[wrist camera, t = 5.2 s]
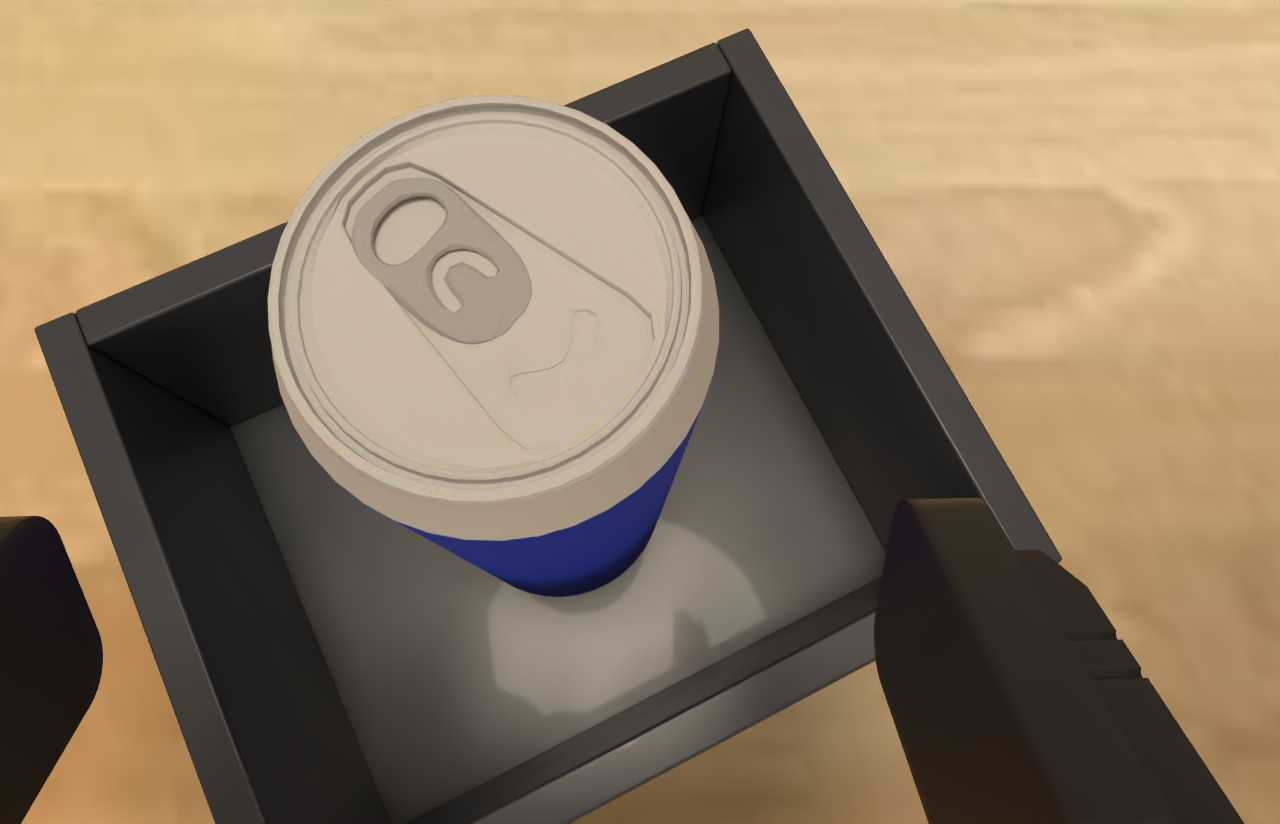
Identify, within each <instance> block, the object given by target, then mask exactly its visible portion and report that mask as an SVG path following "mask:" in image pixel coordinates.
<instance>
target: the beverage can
mask: <svg viewBox="0 0 1280 824" xmlns="http://www.w3.org/2000/svg"><path fill="white" fill-rule="evenodd" d="M268 322H269V335H270V339H271V345H272V354H273V362H274V367H275V372H276V376H277V381H278V385H279V390H280V394H281V396H282V399H283V401H284V404H285V406H286V409H287V411H288V414H289V416H290V419H291V421H292V424H293V426H294V427H295V429H296V431H297V432H298V434H299V435H300V437H301V439H302V440H303V442H304V443H305V445H306V447H307V448H308V450H309V451H310V453H311V455H312V456H313V457H314V458H315V459H316V460H317V461H318V463H319V464H320V465H321V466H322V467H323V468H324V469H325V470H326V472H327V473H328V474H329V475H330V476H331V477H332V478H333V479H334V481H335V482H337V483H338V484H339V485H341V486H342V487H343V488H344V489H346V490H347V491H348V492H349V493H351V494H352V495H353V496H354V497H356V498H357V499H358V500H359V501H361V502H362V503H363V504H365V505H367V506H368V507H370V508H372V509H374V510H376V511H377V512H379V513H381V514H383V515H385V516H386V517H388V518H390V519H392V520H394V521H395V522H397V523H399V524H401V525H403V526H404V527H406V528H408V529H410V530H412V531H413V532H415V533H417V534H419V535H421V536H423V537H424V538H426V539H428V540H430V541H432V542H433V543H435V544H437V545H439V546H441V547H442V548H444V549H446V550H448V551H450V552H451V553H453V554H455V555H457V556H459V557H460V558H462V559H464V560H466V561H468V562H470V563H471V564H473V565H475V566H477V567H479V568H480V569H482V570H484V571H486V572H488V573H489V574H491V575H493V576H495V577H497V578H498V579H500V580H502V581H504V582H506V583H508V584H509V585H511V586H513V587H515V588H517V589H520V590H523V591H525V592H528V593H531V594H537V595H542V596H551V597H565V596H573V595H580V594H583V593H586V592H589V591H593V590H596V589H598V588H600V587H602V586H604V585H606V584H608V583H610V582H611V581H613V580H614V579H616V578H617V577H619V576H620V575H621V574H623V573H624V572H625V571H626V570H627V569H628V568H629V567H630V566H631V565H632V564H633V563H634V562H635V561H636V560H637V559H638V557H639V556H640V555H641V553H642V552H643V551H644V549H645V547H646V545H647V544H648V542H649V540H650V538H651V536H652V534H653V531H654V529H655V526H656V524H657V521H658V519H659V516H660V514H661V511H662V508H663V506H664V503H665V501H666V498H667V496H668V493H669V491H670V488H671V485H672V483H673V480H674V478H675V475H676V473H677V470H678V468H679V465H680V462H681V460H682V457H683V455H684V452H685V450H686V447H687V445H688V442H689V439H690V437H691V434H692V432H693V429H694V427H695V424H696V422H697V419H698V417H699V414H700V411H701V409H702V406H703V403H704V400H705V398H706V395H707V392H708V389H709V386H710V383H711V380H712V377H713V374H714V368H715V362H716V356H717V351H718V345H719V304H718V298H717V292H716V286H715V280H714V275H713V272H712V269H711V266H710V263H709V260H708V257H707V254H706V251H705V248H704V245H703V243H702V242H701V240H700V238H699V236H698V234H697V232H696V230H695V228H694V226H693V225H692V223H691V221H690V219H689V217H688V215H687V214H686V212H685V210H684V208H683V207H682V205H681V203H680V201H679V199H678V197H677V195H676V193H675V191H674V189H673V188H672V187H671V185H670V184H669V183H668V181H667V180H666V179H665V177H664V176H663V175H662V173H661V172H660V171H659V169H658V168H657V167H656V165H655V164H654V163H653V162H652V161H651V160H650V159H649V158H648V157H647V156H646V155H645V154H644V153H643V152H642V151H641V150H640V149H638V148H637V147H636V146H635V145H634V144H633V143H632V142H631V141H629V140H628V139H626V138H625V137H624V136H622V135H621V134H619V133H618V132H617V131H615V130H614V129H612V128H611V127H609V126H608V125H606V124H604V123H602V122H600V121H598V120H596V119H594V118H592V117H590V116H588V115H586V114H584V113H582V112H580V111H578V110H575V109H571V108H568V107H565V106H562V105H559V104H556V103H553V102H550V101H545V100H539V99H533V98H527V97H521V96H505V95H481V96H472V97H463V98H454V99H450V100H446V101H442V102H438V103H434V104H430V105H426V106H422V107H419V108H417V109H415V110H412V111H410V112H407V113H405V114H402V115H400V116H397V117H395V118H392V119H390V120H389V121H387V122H385V123H383V124H382V125H380V126H378V127H377V128H375V129H373V130H371V131H370V132H368V133H366V134H365V135H363V136H362V137H360V138H359V139H358V140H357V141H355V142H354V143H353V144H351V145H350V146H349V147H348V148H346V149H345V150H344V151H343V152H341V153H340V154H339V155H337V156H336V158H335V159H334V160H333V161H332V162H331V163H330V164H329V165H328V166H327V167H326V168H325V169H324V170H323V171H322V172H321V173H320V174H319V175H318V177H317V178H316V179H315V180H314V181H313V183H312V184H311V185H310V187H309V188H308V190H307V191H306V193H305V194H304V195H303V197H302V198H301V200H300V201H299V203H298V204H297V205H296V207H295V209H294V211H293V213H292V215H291V217H290V219H289V221H288V223H287V225H286V227H285V229H284V232H283V234H282V236H281V239H280V242H279V245H278V249H277V252H276V255H275V258H274V262H273V265H272V270H271V277H270V285H269V293H268Z"/></svg>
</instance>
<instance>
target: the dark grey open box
mask: <svg viewBox="0 0 1280 824" xmlns="http://www.w3.org/2000/svg"><path fill="white" fill-rule="evenodd" d="M564 106H565V107H568V108H571V109H575V110H578V111H580V112H582V113H584V114H586V115H588V116H590V117H592V118H594V119H596V120H598V121H600V122H602V123H604V124H606V125H608V126H609V127H611V128H612V129H614V130H615V131H617V132H618V133H619V134H621V135H622V136H624V137H625V138H626V139H628V140H629V141H631V142H632V143H633V144H634V145H635V146H636V147H637V148H638V149H640V150H641V151H642V152H643V153H644V154H645V155H646V156H647V157H648V158H649V159H650V160H651V161H652V162H653V163H654V164H655V165H656V167H657V168H658V169H659V171H660V172H661V173H662V175H663V176H664V177H665V179H666V180H667V181H668V183H669V184H670V185H671V187H672V188H673V189H674V191H675V193H676V195H677V197H678V199H679V201H680V203H681V205H682V207H683V208H684V210H685V212H686V214H687V215H688V217H689V219H690V221H691V223H692V225H693V226H694V228H695V230H696V232H697V234H698V236H699V238H700V240H701V242H702V243H703V245H704V248H705V251H706V254H707V257H708V260H709V263H710V266H711V269H712V272H713V275H714V280H715V286H716V292H717V298H718V304H719V345H718V351H717V356H716V362H715V368H714V374H713V377H712V380H711V383H710V386H709V389H708V392H707V395H706V398H705V400H704V403H703V406H702V409H701V411H700V414H699V417H698V419H697V422H696V424H695V427H694V429H693V432H692V434H691V437H690V439H689V442H688V445H687V447H686V450H685V452H684V455H683V457H682V460H681V462H680V465H679V468H678V470H677V473H676V475H675V478H674V480H673V483H672V485H671V488H670V491H669V493H668V496H667V498H666V501H665V503H664V506H663V508H662V511H661V514H660V516H659V519H658V521H657V524H656V526H655V529H654V531H653V534H652V536H651V538H650V540H649V542H648V544H647V545H646V547H645V549H644V551H643V552H642V553H641V555H640V556H639V557H638V559H637V560H636V561H635V562H634V563H633V564H632V565H631V566H630V567H629V568H628V569H627V570H626V571H625V572H624V573H623V574H621V575H620V576H619V577H617V578H616V579H614V580H613V581H611V582H610V583H608V584H606V585H604V586H602V587H600V588H598V589H596V590H593V591H589V592H586V593H583V594H580V595H573V596H565V597H551V596H542V595H537V594H531V593H528V592H525V591H523V590H520V589H517V588H515V587H513V586H511V585H509V584H508V583H506V582H504V581H502V580H500V579H498V578H497V577H495V576H493V575H491V574H489V573H488V572H486V571H484V570H482V569H480V568H479V567H477V566H475V565H473V564H471V563H470V562H468V561H466V560H464V559H462V558H460V557H459V556H457V555H455V554H453V553H451V552H450V551H448V550H446V549H444V548H442V547H441V546H439V545H437V544H435V543H433V542H432V541H430V540H428V539H426V538H424V537H423V536H421V535H419V534H417V533H415V532H413V531H412V530H410V529H408V528H406V527H404V526H403V525H401V524H399V523H397V522H395V521H394V520H392V519H390V518H388V517H386V516H385V515H383V514H381V513H379V512H377V511H376V510H374V509H372V508H370V507H368V506H367V505H365V504H363V503H362V502H361V501H359V500H358V499H357V498H356V497H354V496H353V495H352V494H351V493H349V492H348V491H347V490H346V489H344V488H343V487H342V486H341V485H339V484H338V483H337V482H335V481H334V479H333V478H332V477H331V476H330V475H329V474H328V473H327V472H326V470H325V469H324V468H323V467H322V466H321V465H320V464H319V463H318V461H317V460H316V459H315V458H314V457H313V456H312V455H311V453H310V451H309V450H308V448H307V447H306V445H305V443H304V442H303V440H302V439H301V437H300V435H299V434H298V432H297V431H296V429H295V427H294V426H293V424H292V421H291V419H290V416H289V414H288V411H287V409H286V406H285V404H284V401H283V399H282V396H281V394H280V390H279V385H278V381H277V376H276V372H275V367H274V362H273V354H272V345H271V339H270V335H269V322H268V293H269V285H270V277H271V270H272V265H273V262H274V258H275V255H276V252H277V249H278V245H279V242H280V239H281V236H282V234H283V232H284V229H285V227H286V225H287V223H288V222H286V223H283V224H281V225H279V226H276V227H274V228H272V229H269V230H267V231H264V232H262V233H260V234H257V235H255V236H253V237H250V238H248V239H245V240H243V241H241V242H238V243H236V244H233V245H231V246H229V247H226V248H224V249H222V250H219V251H217V252H214V253H212V254H210V255H207V256H205V257H203V258H200V259H198V260H195V261H193V262H191V263H188V264H186V265H183V266H181V267H179V268H176V269H174V270H172V271H169V272H167V273H164V274H162V275H160V276H157V277H155V278H153V279H150V280H148V281H145V282H143V283H141V284H138V285H136V286H133V287H131V288H129V289H126V290H124V291H122V292H119V293H117V294H114V295H112V296H110V297H107V298H105V299H103V300H100V301H98V302H95V303H93V304H91V305H88V306H86V307H83V308H81V309H79V310H77V311H76V314H75V313H69V314H66V315H64V316H61V317H59V318H57V319H54V320H52V321H49V322H47V323H45V324H42V325H40V326H38V327H36V328H35V333H36V336H37V338H38V341H39V344H40V346H41V349H42V352H43V355H44V357H45V360H46V363H47V366H48V368H49V371H50V374H51V376H52V379H53V382H54V385H55V387H56V390H57V393H58V396H59V398H60V401H61V404H62V406H63V409H64V412H65V415H66V417H67V420H68V423H69V426H70V428H71V431H72V434H73V436H74V439H75V442H76V445H77V447H78V450H79V453H80V456H81V458H82V461H83V464H84V467H85V469H86V472H87V475H88V477H89V480H90V483H91V486H92V488H93V491H94V494H95V497H96V499H97V502H98V505H99V507H100V510H101V513H102V516H103V518H104V521H105V524H106V527H107V529H108V532H109V535H110V537H111V540H112V543H113V546H114V548H115V551H116V554H117V557H118V559H119V562H120V565H121V567H122V570H123V573H124V576H125V578H126V581H127V584H128V587H129V589H130V592H131V595H132V598H133V600H134V603H135V606H136V608H137V611H138V614H139V617H140V619H141V622H142V625H143V628H144V630H145V633H146V636H147V638H148V641H149V644H150V647H151V649H152V652H153V655H154V658H155V660H156V663H157V666H158V668H159V671H160V674H161V677H162V679H163V682H164V685H165V688H166V690H167V693H168V696H169V698H170V701H171V704H172V707H173V709H174V712H175V715H176V718H177V720H178V723H179V726H180V729H181V731H182V734H183V737H184V739H185V742H186V745H187V748H188V750H189V753H190V756H191V759H192V761H193V764H194V767H195V769H196V772H197V775H198V778H199V780H200V783H201V786H202V789H203V791H204V794H205V797H206V799H207V802H208V805H209V808H210V810H211V813H212V816H213V819H214V821H215V824H570V823H572V822H574V821H576V820H578V819H579V818H581V817H583V816H585V815H587V814H589V813H591V812H593V811H594V810H596V809H598V808H600V807H602V806H604V805H606V804H608V803H609V802H611V801H613V800H615V799H617V798H619V797H621V796H623V795H624V794H626V793H628V792H630V791H632V790H634V789H636V788H638V787H639V786H641V785H643V784H645V783H647V782H649V781H651V780H653V779H654V778H656V777H658V776H660V775H662V774H664V773H666V772H668V771H669V770H671V769H673V768H675V767H677V766H679V765H681V764H683V763H684V762H686V761H688V760H690V759H692V758H694V757H696V756H698V755H699V754H701V753H703V752H705V751H707V750H709V749H711V748H713V747H714V746H716V745H718V744H720V743H722V742H724V741H726V740H728V739H729V738H731V737H733V736H735V735H737V734H739V733H741V732H742V731H744V730H746V729H748V728H750V727H752V726H754V725H756V724H757V723H759V722H761V721H763V720H765V719H767V718H769V717H771V716H772V715H774V714H776V713H778V712H780V711H782V710H784V709H786V708H787V707H789V706H791V705H793V704H795V703H797V702H799V701H801V700H802V699H804V698H806V697H808V696H810V695H812V694H814V693H816V692H817V691H819V690H821V689H823V688H825V687H827V686H829V685H831V684H832V683H834V682H836V681H838V680H840V679H842V678H844V677H846V676H847V675H849V674H851V673H853V672H855V671H857V670H859V669H861V668H862V667H864V666H866V665H868V664H870V663H872V662H874V661H876V659H875V650H874V619H875V612H876V606H877V601H878V595H879V590H880V584H881V579H882V573H883V568H884V562H885V556H886V551H887V545H888V540H889V534H890V529H891V523H892V518H893V514H894V511H895V508H896V506H897V504H898V503H899V502H900V501H901V500H903V499H946V498H980V499H982V500H984V501H985V502H986V503H987V504H988V506H989V507H990V508H991V510H992V512H993V513H994V515H995V517H996V518H997V520H998V522H999V523H1000V525H1001V527H1002V528H1003V530H1004V532H1005V534H1006V535H1007V537H1008V539H1009V540H1010V542H1011V544H1012V545H1013V547H1014V549H1015V550H1041V551H1043V552H1044V553H1045V554H1047V555H1048V556H1049V557H1050V558H1052V559H1053V560H1054V561H1055V562H1057V563H1059V562H1060V561H1061V560H1062V557H1061V556H1060V554H1059V552H1058V551H1057V549H1056V547H1055V545H1054V544H1053V542H1052V540H1051V539H1050V537H1049V535H1048V534H1047V532H1046V530H1045V529H1044V527H1043V525H1042V523H1041V522H1040V520H1039V518H1038V517H1037V515H1036V513H1035V512H1034V510H1033V508H1032V507H1031V505H1030V503H1029V501H1028V500H1027V498H1026V496H1025V495H1024V493H1023V491H1022V490H1021V488H1020V486H1019V485H1018V483H1017V481H1016V479H1015V478H1014V476H1013V474H1012V473H1011V471H1010V469H1009V468H1008V466H1007V464H1006V463H1005V461H1004V459H1003V457H1002V456H1001V454H1000V452H999V451H998V449H997V447H996V446H995V444H994V442H993V441H992V439H991V437H990V435H989V434H988V432H987V430H986V429H985V427H984V425H983V424H982V422H981V420H980V419H979V417H978V415H977V413H976V412H975V410H974V408H973V407H972V405H971V403H970V402H969V400H968V398H967V397H966V395H965V393H964V391H963V390H962V388H961V386H960V385H959V383H958V381H957V380H956V378H955V376H954V375H953V373H952V371H951V369H950V368H949V366H948V364H947V363H946V361H945V359H944V358H943V356H942V354H941V353H940V351H939V349H938V347H937V346H936V344H935V342H934V341H933V339H932V337H931V336H930V334H929V332H928V330H927V329H926V327H925V325H924V324H923V322H922V320H921V319H920V317H919V315H918V314H917V312H916V310H915V308H914V307H913V305H912V303H911V302H910V300H909V298H908V297H907V295H906V293H905V292H904V290H903V288H902V286H901V285H900V283H899V281H898V280H897V278H896V276H895V275H894V273H893V271H892V270H891V268H890V266H889V264H888V263H887V261H886V259H885V258H884V256H883V254H882V253H881V251H880V249H879V248H878V246H877V244H876V242H875V241H874V239H873V237H872V236H871V234H870V232H869V231H868V229H867V227H866V226H865V224H864V222H863V220H862V219H861V217H860V215H859V214H858V212H857V210H856V209H855V207H854V205H853V204H852V202H851V200H850V198H849V197H848V195H847V193H846V192H845V190H844V188H843V187H842V185H841V183H840V182H839V180H838V178H837V176H836V175H835V173H834V171H833V170H832V168H831V166H830V165H829V163H828V161H827V160H826V158H825V156H824V154H823V153H822V151H821V149H820V148H819V146H818V144H817V143H816V141H815V139H814V138H813V136H812V134H811V132H810V131H809V129H808V127H807V126H806V124H805V122H804V121H803V119H802V117H801V116H800V114H799V112H798V110H797V109H796V107H795V105H794V104H793V102H792V100H791V99H790V97H789V95H788V94H787V92H786V90H785V88H784V87H783V85H782V83H781V82H780V80H779V78H778V77H777V75H776V73H775V72H774V70H773V68H772V66H771V65H770V63H769V61H768V60H767V58H766V56H765V55H764V53H763V51H762V50H761V48H760V46H759V44H758V43H757V41H756V39H755V38H754V36H753V34H752V33H751V31H750V29H745V30H742V31H740V32H738V33H735V34H733V35H731V36H728V37H726V38H723V39H721V40H719V41H718V42H717V44H716V43H712V44H710V45H707V46H705V47H702V48H700V49H698V50H695V51H693V52H691V53H688V54H686V55H683V56H681V57H679V58H676V59H674V60H672V61H669V62H667V63H664V64H662V65H660V66H657V67H655V68H652V69H650V70H648V71H645V72H643V73H641V74H638V75H636V76H633V77H631V78H629V79H626V80H624V81H622V82H619V83H617V84H614V85H612V86H610V87H607V88H605V89H602V90H600V91H598V92H595V93H593V94H591V95H588V96H586V97H583V98H581V99H579V100H576V101H574V102H572V103H569V104H567V105H564Z"/></svg>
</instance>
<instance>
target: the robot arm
mask: <svg viewBox="0 0 1280 824" xmlns="http://www.w3.org/2000/svg"><path fill="white" fill-rule="evenodd" d="M874 650H875V659H876V665H877V670H878V675H879V679H880V682H881V685H882V688H883V691H884V694H885V697H886V700H887V703H888V706H889V709H890V711H891V714H892V717H893V720H894V723H895V726H896V729H897V732H898V735H899V738H900V741H901V744H902V747H903V750H904V752H905V755H906V758H907V761H908V764H909V767H910V770H911V773H912V776H913V779H914V782H915V785H916V788H917V790H918V793H919V796H920V799H921V802H922V805H923V808H924V811H925V814H926V817H927V820H928V823H929V824H1244V822H1243V821H1242V819H1241V818H1240V816H1239V815H1238V813H1237V812H1236V810H1235V809H1234V807H1233V806H1232V804H1231V803H1230V801H1229V800H1228V798H1227V797H1226V795H1225V794H1224V792H1223V791H1222V789H1221V788H1220V786H1219V785H1218V783H1217V782H1216V780H1215V779H1214V777H1213V776H1212V774H1211V773H1210V771H1209V770H1208V768H1207V767H1206V765H1205V764H1204V762H1203V761H1202V759H1201V758H1200V756H1199V755H1198V753H1197V751H1196V750H1195V748H1194V747H1193V745H1192V744H1191V742H1190V741H1189V739H1188V738H1187V736H1186V735H1185V733H1184V732H1183V730H1182V729H1181V727H1180V726H1179V724H1178V723H1177V721H1176V720H1175V718H1174V717H1173V715H1172V714H1171V712H1170V711H1169V709H1168V708H1167V706H1166V705H1165V703H1164V702H1163V700H1162V699H1161V697H1160V696H1159V694H1158V693H1157V691H1156V690H1155V688H1154V687H1153V685H1152V684H1151V682H1150V681H1149V679H1148V678H1142V676H1141V667H1140V666H1139V664H1138V663H1137V661H1136V660H1135V658H1134V657H1133V655H1132V654H1131V652H1130V651H1129V649H1128V648H1127V646H1126V645H1125V643H1124V642H1123V640H1117V638H1116V630H1115V628H1114V627H1113V625H1112V624H1111V622H1110V621H1109V619H1108V618H1107V616H1106V615H1105V613H1104V612H1103V610H1102V609H1101V607H1100V606H1099V604H1098V603H1097V601H1096V600H1095V598H1094V597H1093V595H1092V594H1091V592H1090V591H1089V589H1088V588H1087V586H1086V585H1084V584H1083V583H1082V582H1081V581H1079V580H1078V579H1077V578H1076V577H1074V576H1073V575H1072V574H1071V573H1069V572H1068V571H1067V570H1065V569H1064V568H1063V567H1062V566H1060V565H1059V564H1058V563H1057V562H1055V561H1054V560H1053V559H1052V558H1050V557H1049V556H1048V555H1047V554H1045V553H1044V552H1043V551H1041V550H1015V549H1014V547H1013V545H1012V544H1011V542H1010V540H1009V539H1008V537H1007V535H1006V534H1005V532H1004V530H1003V528H1002V527H1001V525H1000V523H999V522H998V520H997V518H996V517H995V515H994V513H993V512H992V510H991V508H990V507H989V506H988V504H987V503H986V502H985V501H984V500H982V499H980V498H946V499H903V500H901V501H900V502H899V503H898V504H897V506H896V508H895V511H894V514H893V518H892V523H891V529H890V534H889V540H888V545H887V551H886V556H885V562H884V568H883V573H882V579H881V584H880V590H879V595H878V601H877V606H876V612H875V619H874ZM102 665H103V650H102V642H101V637H100V634H99V631H98V629H97V626H96V624H95V621H94V619H93V616H92V614H91V611H90V609H89V606H88V604H87V602H86V599H85V597H84V594H83V592H82V589H81V587H80V584H79V582H78V579H77V577H76V574H75V572H74V569H73V567H72V564H71V562H70V559H69V557H68V555H67V552H66V550H65V547H64V545H63V542H62V540H61V537H60V535H59V533H58V531H57V529H56V528H55V527H54V525H53V524H52V523H51V522H50V521H48V520H47V519H45V518H43V517H39V516H18V517H0V824H21V823H22V821H23V819H24V817H25V816H26V814H27V812H28V811H29V809H30V807H31V806H32V804H33V802H34V800H35V799H36V797H37V795H38V794H39V792H40V790H41V789H42V787H43V785H44V783H45V782H46V780H47V778H48V777H49V775H50V773H51V772H52V770H53V768H54V766H55V765H56V763H57V761H58V760H59V758H60V756H61V754H62V753H63V751H64V749H65V748H66V746H67V744H68V743H69V741H70V739H71V737H72V736H73V734H74V732H75V731H76V729H77V727H78V726H79V724H80V722H81V720H82V719H83V717H84V715H85V714H86V712H87V710H88V709H89V707H90V705H91V703H92V701H93V699H94V697H95V695H96V692H97V690H98V686H99V683H100V678H101V673H102Z"/></svg>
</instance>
